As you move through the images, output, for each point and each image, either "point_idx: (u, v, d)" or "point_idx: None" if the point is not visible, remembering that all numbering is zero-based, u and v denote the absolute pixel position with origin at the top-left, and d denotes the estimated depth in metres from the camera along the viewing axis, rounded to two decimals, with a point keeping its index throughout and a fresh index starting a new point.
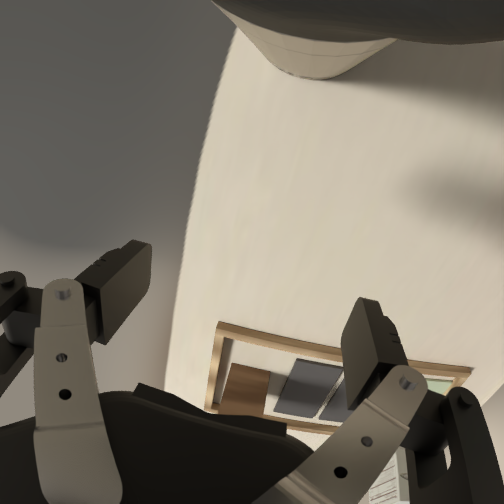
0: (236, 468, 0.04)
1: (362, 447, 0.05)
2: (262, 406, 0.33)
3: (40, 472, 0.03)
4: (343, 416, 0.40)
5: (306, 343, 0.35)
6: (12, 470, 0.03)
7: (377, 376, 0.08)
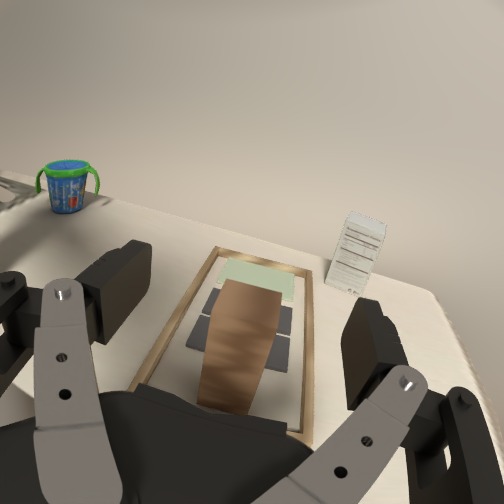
0: (236, 468, 0.04)
1: (361, 447, 0.05)
2: None
3: (40, 472, 0.03)
4: (279, 315, 0.44)
5: None
6: (12, 470, 0.03)
7: (377, 376, 0.08)
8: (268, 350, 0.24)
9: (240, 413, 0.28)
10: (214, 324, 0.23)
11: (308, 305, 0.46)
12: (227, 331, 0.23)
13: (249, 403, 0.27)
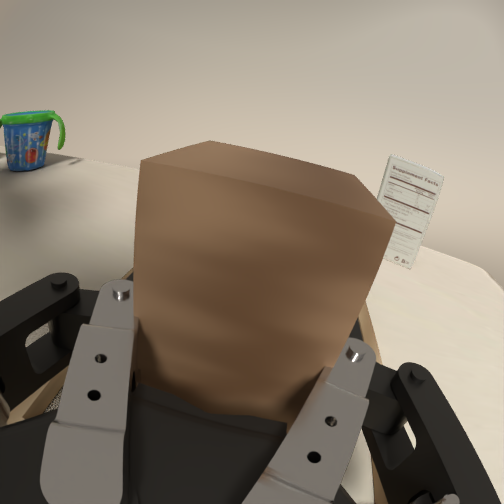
0: (236, 468, 0.04)
1: (327, 428, 0.05)
2: None
3: (40, 472, 0.03)
4: None
5: None
6: (12, 470, 0.03)
7: None
8: (349, 322, 0.06)
9: None
10: (151, 222, 0.06)
11: None
12: (198, 247, 0.06)
13: None
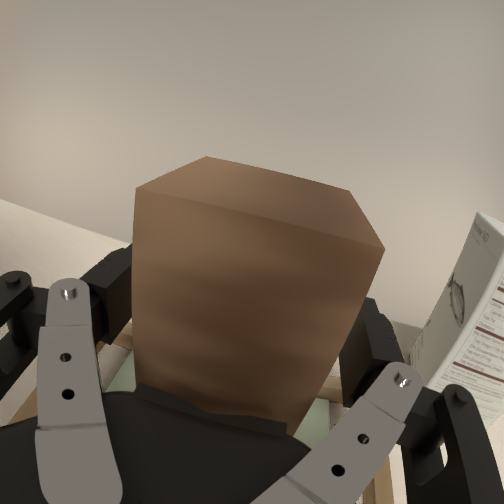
0: (236, 468, 0.04)
1: (358, 445, 0.05)
2: None
3: (40, 472, 0.03)
4: None
5: None
6: (12, 470, 0.03)
7: (371, 373, 0.08)
8: (339, 342, 0.07)
9: None
10: (148, 248, 0.06)
11: None
12: (193, 272, 0.06)
13: None
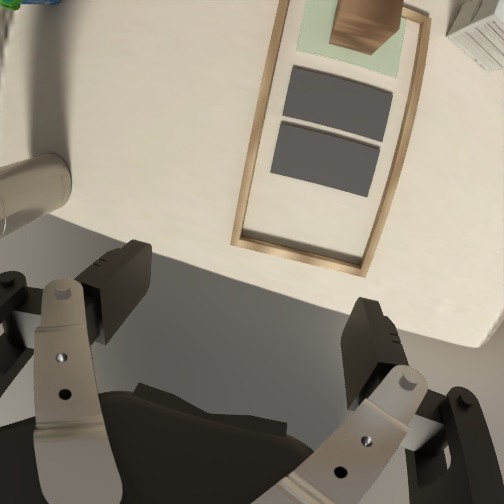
0: (236, 468, 0.04)
1: (361, 447, 0.05)
2: None
3: (40, 472, 0.03)
4: (374, 111, 0.32)
5: None
6: (12, 470, 0.03)
7: (376, 377, 0.08)
8: (390, 35, 0.20)
9: (366, 53, 0.28)
10: (342, 16, 0.19)
11: (412, 97, 0.29)
12: (354, 20, 0.20)
13: (373, 51, 0.27)
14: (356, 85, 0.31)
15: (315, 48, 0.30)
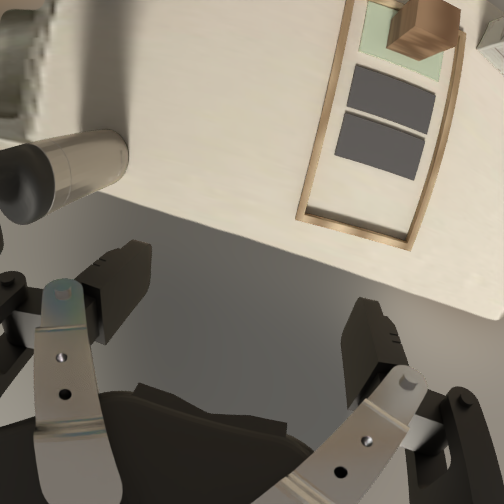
0: (236, 468, 0.04)
1: (361, 447, 0.05)
2: (402, 8, 0.25)
3: (40, 472, 0.03)
4: (421, 107, 0.35)
5: None
6: (12, 470, 0.03)
7: (377, 376, 0.08)
8: (446, 48, 0.23)
9: (415, 59, 0.32)
10: (414, 30, 0.23)
11: (451, 98, 0.33)
12: (422, 34, 0.23)
13: (424, 58, 0.30)
14: (407, 85, 0.34)
15: (374, 51, 0.33)
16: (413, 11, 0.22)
